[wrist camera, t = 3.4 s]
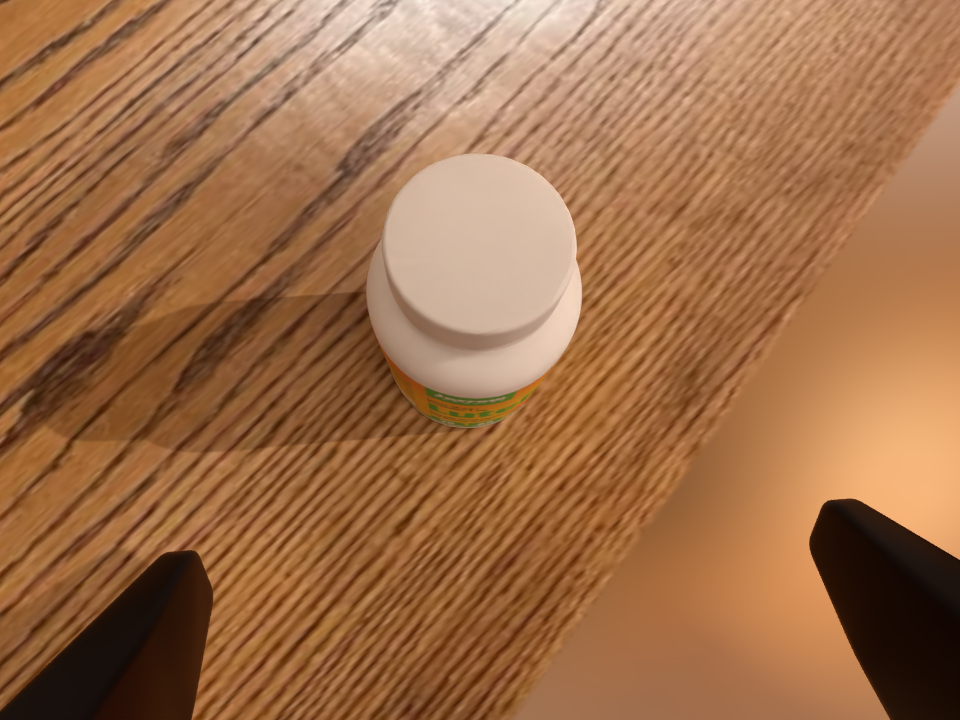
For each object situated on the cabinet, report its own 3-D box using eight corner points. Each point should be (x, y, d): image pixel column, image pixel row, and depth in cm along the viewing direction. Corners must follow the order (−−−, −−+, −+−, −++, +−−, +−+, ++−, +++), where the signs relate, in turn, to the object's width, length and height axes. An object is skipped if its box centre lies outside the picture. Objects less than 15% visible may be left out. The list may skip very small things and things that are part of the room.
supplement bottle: (420, 452, 21) (396, 410, 11) (370, 312, 22) (309, 165, 12) (564, 398, 21) (656, 316, 12) (509, 264, 22) (551, 91, 13)
